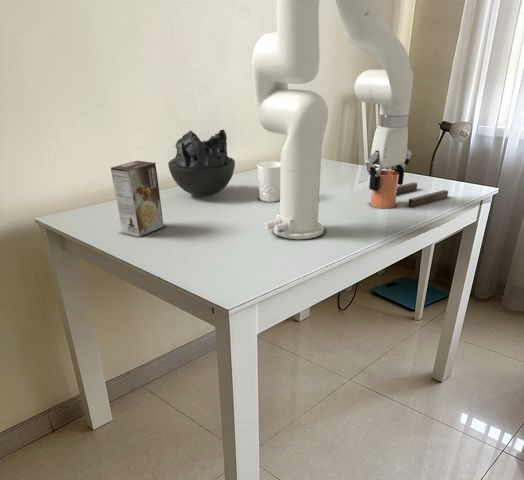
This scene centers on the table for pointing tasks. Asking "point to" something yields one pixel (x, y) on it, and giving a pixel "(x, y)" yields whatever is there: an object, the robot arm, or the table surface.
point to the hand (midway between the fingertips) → (386, 186)
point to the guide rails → (420, 199)
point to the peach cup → (386, 190)
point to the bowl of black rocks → (202, 164)
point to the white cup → (269, 181)
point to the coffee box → (137, 197)
